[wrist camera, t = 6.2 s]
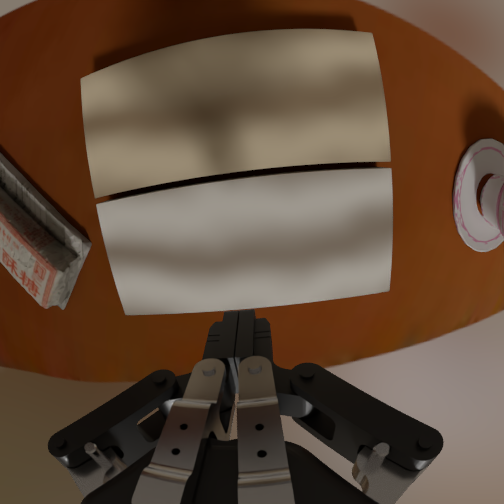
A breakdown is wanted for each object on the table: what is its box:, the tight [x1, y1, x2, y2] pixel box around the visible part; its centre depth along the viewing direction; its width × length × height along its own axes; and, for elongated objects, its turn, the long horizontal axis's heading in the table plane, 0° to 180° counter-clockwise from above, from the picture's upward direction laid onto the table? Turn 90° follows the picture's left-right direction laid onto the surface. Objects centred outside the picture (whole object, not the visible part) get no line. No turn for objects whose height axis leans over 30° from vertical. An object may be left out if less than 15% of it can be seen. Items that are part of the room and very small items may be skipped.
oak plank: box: [81, 29, 391, 198], centre depth 17 cm, size 10×22×3 cm, turn 97°
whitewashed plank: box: [96, 167, 393, 315], centre depth 21 cm, size 10×22×2 cm, turn 97°
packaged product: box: [0, 153, 92, 309], centre depth 21 cm, size 18×5×10 cm
